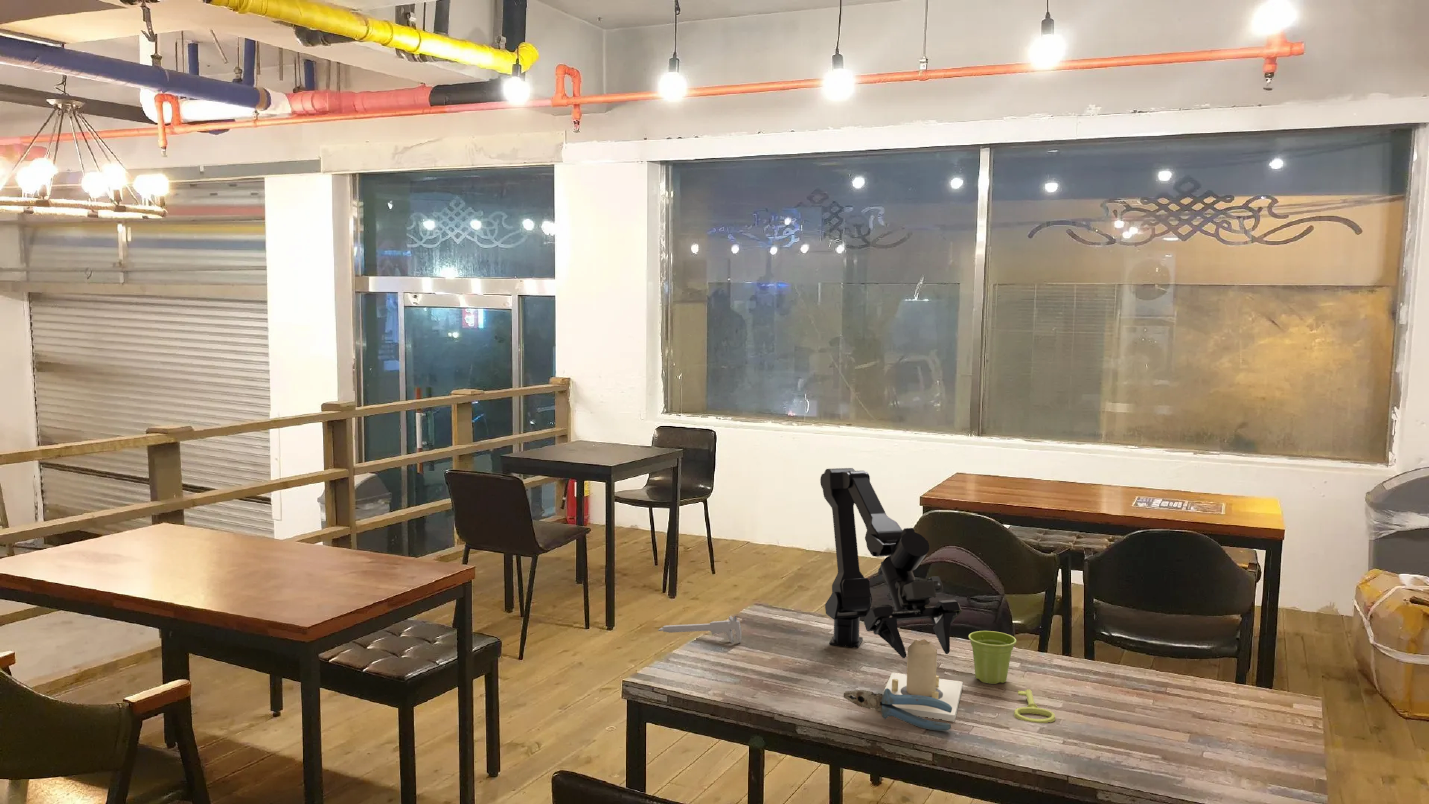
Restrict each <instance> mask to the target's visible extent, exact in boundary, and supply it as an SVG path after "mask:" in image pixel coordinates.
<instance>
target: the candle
mask: <svg viewBox="0 0 1429 804" xmlns="http://www.w3.org/2000/svg"><path fill="white" fill-rule="evenodd" d="M937 657H938V649H937V648H936V647H935V645H933V643H932V642H931V641H928V640H927V639H921V640H917V639H915V640H914V641H913V642H912V643H911V644H909V646H907V656H906V658H907V660H906V662H907V663H906V675H907V692H908V693H909V694H911V695H921V696H927V697H930V696H932V691H936V675H937V663H938V661H937V659H938V658H937Z"/></svg>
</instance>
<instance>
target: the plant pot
mask: <svg viewBox="0 0 1429 804" xmlns="http://www.w3.org/2000/svg"><path fill="white" fill-rule="evenodd" d="M968 639H969V641H970V645H971V647H972V654H973V655H972V656H973V663H974V665H973V667H974V673H975V679H976V680H979V681H980V682H982V683H984V684H990V685H995V684H996V685H997V684H999V683H1002V684H1004V683H1005V682H1007V680H1008V673H1009V667H1010V661H1011V656H1012V652H1013V650H1014V646H1015V645H1016V644H1017V639H1016V638H1015V636H1013V635H1011V634H1007V633H1005V632H999V631H993V630H992V631H991V630H979V631H978V630H977V631H973V632H971V633H969V634H968Z"/></svg>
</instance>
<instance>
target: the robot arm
mask: <svg viewBox="0 0 1429 804" xmlns="http://www.w3.org/2000/svg"><path fill="white" fill-rule="evenodd" d="M819 481H820V487H821V489H822V494H823V497H824V499H825V500H826V502H827V504H828V505H829V506H830V508H831V510H832V511H831V512H832V521H833V532H834V533H833V534H834V543H835V544H834V545H835V554H836V564H837V574H836V576H835V578H834V580H833V582H832V585H831V595H829V598H827V601H826V602H825V604H824V609H825V615H826V616H828V617H830V618H831V619H832V620H833V636H832V638H831V639H830V641H829V643H828V645H831V646H837V647H838V646H839V647H848V648H859V647H860V645H861V643H862V642H863V639H864V637H862V636H860V622H861V621H860V618H864V619H863V623H864V627H865V630H866V631H867V632H873V634H874V635H876V636H877V635H878V636H879V637H880V638H881V639H883V641H885V642H886V643H887V644H888V645H889V646H891V648H892V649H893V650H894V651H895V652H896V653H897V654H898V655H899V656H900V657H901V658H902V659H906V658H907V651H906V648H905V645H904V643H903V640H902V637H901V634H900V632H899V628H898V622H899V621H900V622H901V621H902V622H903V621H910V620H911V621H912V620H913V621H914V620H924V619H927V620H928V619H930V621H931V624H933V625H934V626H933V627H932V629H933V632H934V634H935V636H936V638H937V640H938V642H939V645H940V647H941V648H942V650H943V652H944V654H945V655H948V654H950V652H951V649H950V648H951V646H950V645H951V643H950V641H951V640H950V639H951V635H950V634H951V633H950V632H951V624H952V623H954V621H955V620H956V619H957V617H958V616H959V615H960V614H961V613H962V608H961V605H960V603H959V602H958V601H957V600H955V599H947V600H945V599H944V600H938V601H937V603H936V604H935V605H934V606H933V607H926V606H928V605H929V604H930V603H931V601H930V599H933V598H937V595H938V594H942V593H943V592H944V586H943V583H942V581H941V578H940V576H931V577H928V578H927V580H923V581H922V580H920V579H916V577H915V575H914V572H913V571H915V570H917V568H918V567H919V566H920V564H921V563H922V561H923V560H924V559H925V557H926V556H927V555H928V553H929V552H930V543H929V541H928V540H927V539H926V537H924V536H923V535H921V534H920V533H918V532H915V528H914V527H905V528H903V529H902V527H901V526H900V525H899V523H898V522H897V521H896V520H894V519H892V518H891V517H889V516H888V514H887V513H886V511H885V509H884V507H883V506H882V503H881V501H880V499H879V498H878V497H879V496H878V495H877V493H876V491H875V489H874V487H873V485H872V483H871V476H870V473H868V471H866V470H855V469H854V468H853V467H844V468H842V467H841V468H840V467H839V468H835V467H834V468H826V469H825V470H824V472H823V473H822V474H821V475H820V479H819ZM854 506H856V509H857V510H858V511H857V512H858V513H859V515H860V516H861V519H862V521H863V523H864V525H865V529H866V533H865V537H864V539H865V543H866V548H867V550H868V552H869V553H870V555H871V557H876V558H880V557H885V558H884V559H883V560H882V561H881V562H880V566H879V568H878V571H877V573H878V574H877V575H878V576H883V578H884V581H885V583H886V587H887V591H888V594H887V595H886V596H887V600H888V601H891V602H892V604H893V605H890V604H879V605H872V603H873V598H872V596H873V595H872V593H871V588H870V586H871V584H870V580H869V577H864V575H863V574H862V572H861V570H860V569H861V568H860V561H859V552H858V541H857V530H856V520H855V519H856V518H855V510H854V508H855V507H854ZM893 607H894V609H893Z"/></svg>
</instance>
